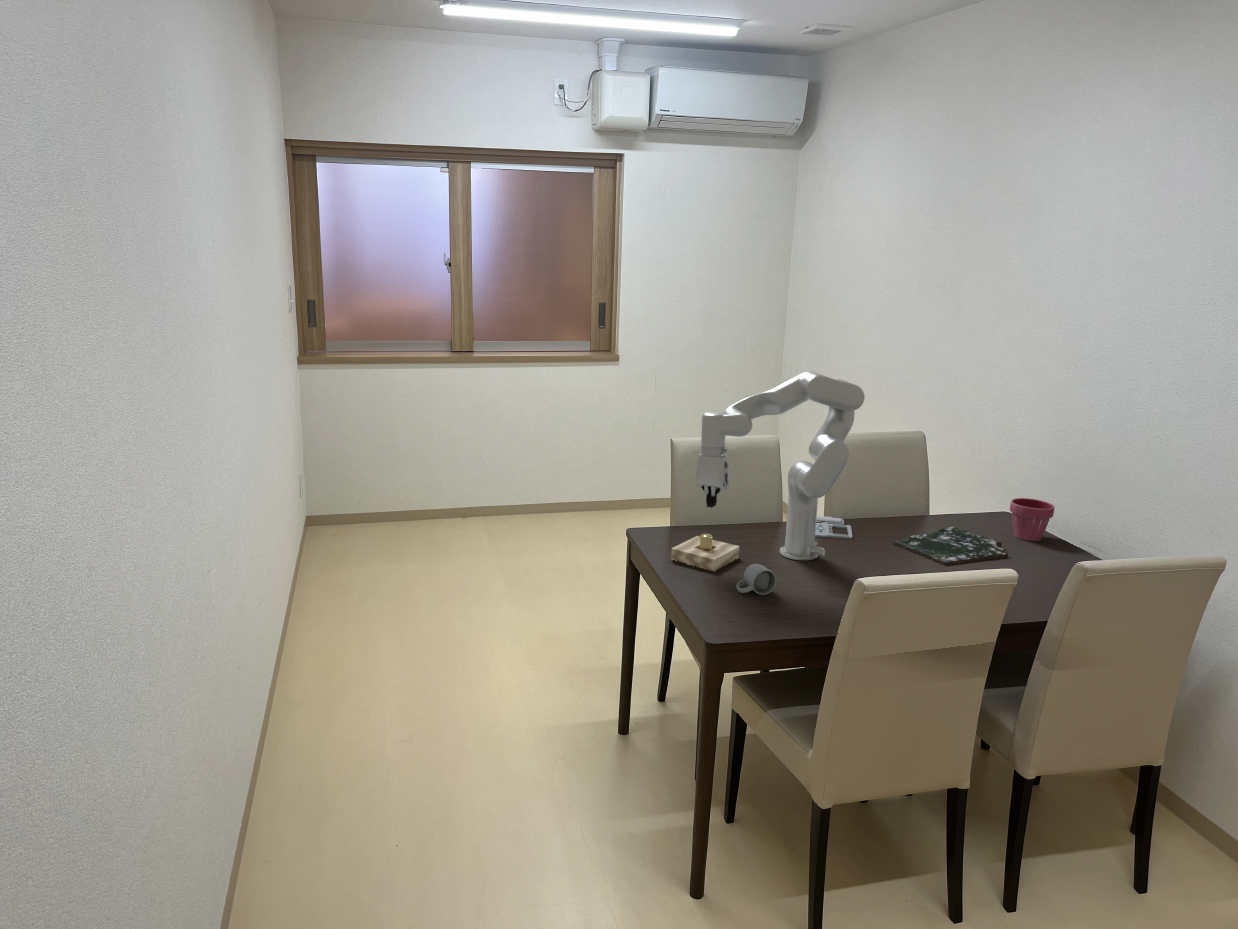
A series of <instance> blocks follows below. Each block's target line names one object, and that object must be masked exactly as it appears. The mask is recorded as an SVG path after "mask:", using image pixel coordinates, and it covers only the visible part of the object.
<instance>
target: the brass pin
mask: <svg viewBox="0 0 1238 929" xmlns="http://www.w3.org/2000/svg"><path fill="white" fill-rule="evenodd" d="M699 536H700V549H701V550H705V551H711V550H712V540H714V539H713V537H714V536H713V535H712V534H710V533H702V534H701V533H700V535H699Z"/></svg>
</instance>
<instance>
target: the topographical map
mask: <svg viewBox="0 0 1238 929" xmlns="http://www.w3.org/2000/svg"><path fill="white" fill-rule="evenodd" d="M892 545H894V546H895V547H899V548H901V549H903V550H905V551H908V552H911V553H913V554H916V555H918V556H920V557H922V558H925V559H928V560H931V561H932V562H935V563H938V564H939V563H940V565H943V566H950V565H951V566H952V565H957V564H964V563H966V564H967V563H973V562H981V561H986V560H996V559H1004V558H1008V556H1009V552H1006V551H1004V548H1002V547H1003V542H1002V541H996V540H995V539H994V538H992V537H991V538H990V537H989V538H988V537H985V536H984V535H979V534H976V533H972V532H971V533H970V532H968V530H965V529H964V530H963V529H959V528H957V527H955V526H950V527H945V528H942V529H941V528H940V529H939V530H937V531H935V532H933V533H924V534H912V535H910V536H908V537H905V538H903V539H899V540H894V541H892Z"/></svg>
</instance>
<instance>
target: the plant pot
mask: <svg viewBox="0 0 1238 929" xmlns="http://www.w3.org/2000/svg"><path fill="white" fill-rule="evenodd" d="M1009 512H1010V513H1011V516H1012V517H1011V518H1012V528H1013V536H1014V537H1015V538H1017V539H1020V540H1023V541H1028V542H1038V541H1039V542H1040V541H1041V540H1042V538H1043V536H1044V534H1045V532H1046V530H1047V526H1048V524H1049V522H1050V519H1052V518H1053V517H1054V514H1055V506H1054V505H1053V504H1052V503H1050V502H1048V501H1044V500H1039V499H1036V498H1027V497H1026V498H1025V497H1018V498H1014V499H1011V501H1010V504H1009Z"/></svg>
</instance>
